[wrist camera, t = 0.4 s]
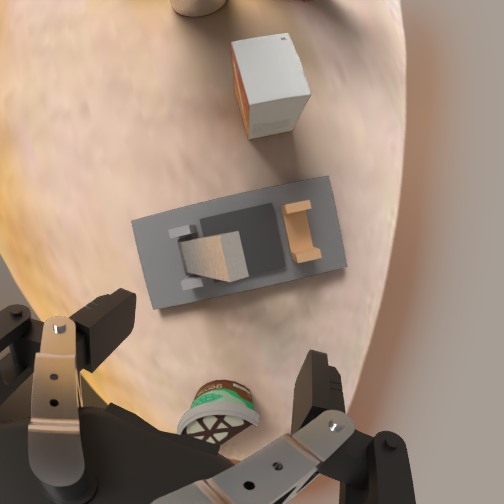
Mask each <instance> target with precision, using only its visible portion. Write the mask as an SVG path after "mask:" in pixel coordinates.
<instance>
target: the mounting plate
mask: <svg viewBox="0 0 504 504" xmlns="http://www.w3.org/2000/svg"><path fill="white" fill-rule="evenodd" d="M131 222H132V227H133V232H134V236H135V241H136V245H137V250H138V254H139V258H140V262H141V266H142V270H143V274H144V278H145V282H146V285H147V289H148V293H149V296H150V300H151V303H152V307H153V310H155V309H160V308H165V307H171V306H176V305H181V304H186V303H191V302H195V301H200V300H205V299H210V298H215V297H219V296H224V295H229V294H233V293H238V292H243V291H247V290H252V289H256V288H261V287H265V286H269V285H274V284H278V283H282V282H287V281H291V280H295V279H299V278H304V277H308V276H312V275H316V274H320V273H324V272H328V271H332V270H336V269H340V268H344V267H347V263H346V258H345V252H344V247H343V241H342V236H341V231H340V226H339V221H338V216H337V211H336V206H335V202H334V197H333V193H332V188H331V184H330V180H329V176H324V177H318V178H313V179H308V180H302V181H297V182H292V183H287V184H282V185H277V186H272V187H267V188H263V189H258V190H253V191H249V192H244V193H240V194H235V195H231V196H226V197H222V198H218V199H214V200H209V201H205V202H201V203H197V204H193V205H189V206H185V207H181V208H177V209H173V210H169V211H165V212H162V213H158V214H154V215H150V216H147V217H143V218H139V219H136V220H132V221H131ZM235 231H239V235H240V240H241V244H242V248H243V253H244V257H245V262H246V266H247V270H248V275H249V277H245V278H242V279H239V280H236V281H232V282H227V281H223V280H218V279H214V278H210V277H205V276H201V275H196V274H195V275H190V276H186V275H185V271H184V267H183V263H182V259H181V255H180V251H179V247H178V242H177V240H178V239H182V238H186V237H190V236H193V237H194V239H197V238H203V237H208V236H213V235H219V234H224V233H230V232H235Z"/></svg>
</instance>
